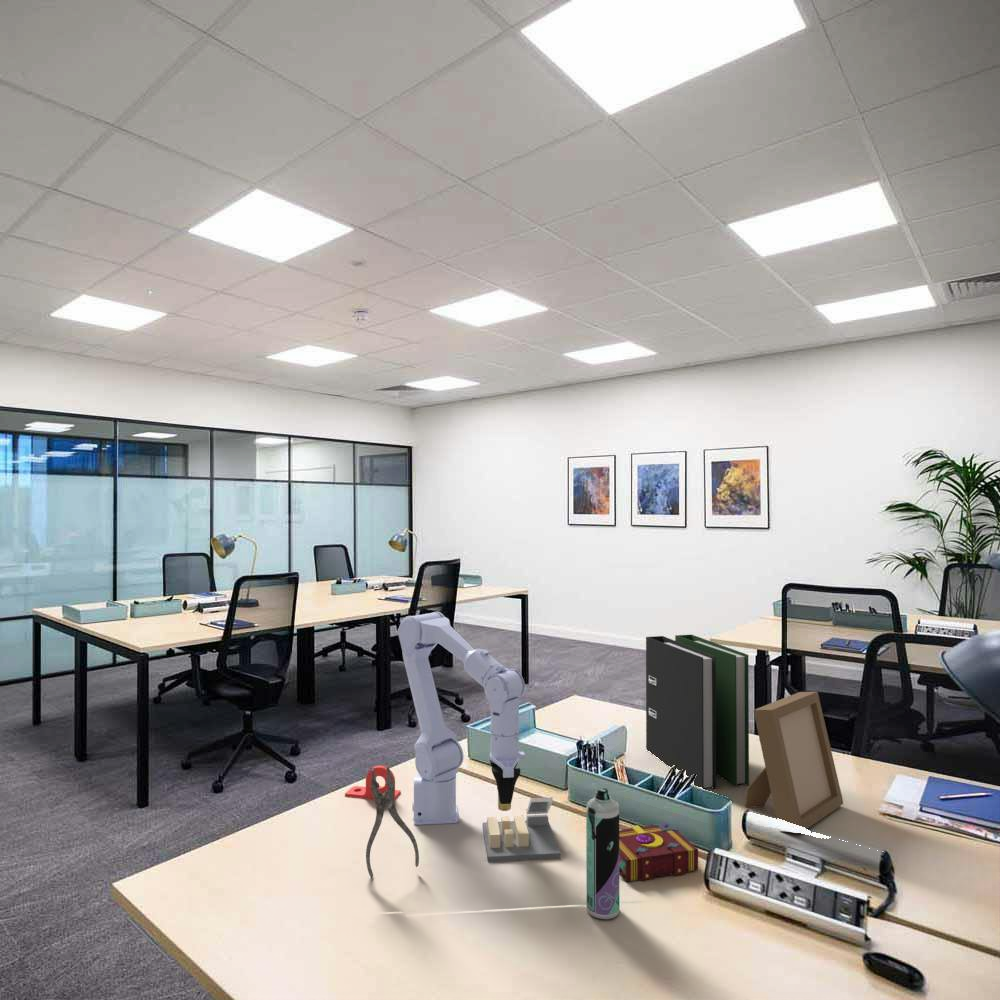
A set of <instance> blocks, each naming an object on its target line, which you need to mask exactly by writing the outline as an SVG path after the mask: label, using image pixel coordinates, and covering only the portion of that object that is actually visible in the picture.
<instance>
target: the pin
mask: <svg viewBox="0 0 1000 1000" xmlns="http://www.w3.org/2000/svg"><path fill="white" fill-rule="evenodd" d="M497 808H498V810H499V811H501V812H507V811H510V810H511V809H512V803H511V804H501V803H500V799H499V793H498V792H497Z"/></svg>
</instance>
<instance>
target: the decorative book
mask: <svg viewBox="0 0 1000 1000" xmlns="http://www.w3.org/2000/svg"><path fill="white" fill-rule="evenodd" d="M698 870H699V848H697V846H695V845H694V844H693V843H692V842H690V840H688V839H687V838H686V837H685V836H683V834H681V833H680V832H679V830H678V829H677V828H676V827H675V826H674V825H673V824H672V823H671V822H669V821H664V822H658V823H652V824H650V825H646V826H640V825H631V826H630V828H625V829H619V876H621V877H622V878H623V879H624V881H625V882H626V883H628V882H633V881H639V880H641V882H648V881H653V878H656V877H657V878H658V877H663V876H670V875H673V876H674V877H678V876H679V877H680V876H684V875H685V874H686V873H688V872H693V871H698Z"/></svg>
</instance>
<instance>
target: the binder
mask: <svg viewBox="0 0 1000 1000" xmlns="http://www.w3.org/2000/svg"><path fill="white" fill-rule="evenodd" d="M674 637H675V638H674V639H675V640H674V639H671V638H669V637H666V636H663V635H657V636H656V635H655V636H645V689H646V690H645V716H646V717H645V718H646V719H645V730H646V732H645V734H646V735H645V736H646V737H645V740H646V741H645V747H646V749H647V750H648V751H650V752H651V753H652V754H654V755H655V756H656V757H658V758H659V759H660V760H661V761H663V762H664V763H665V764H666V765H665V764H664V763H663V762H662V763H663V764H664V765H665V766H667V765H668V766H670V767H672V766H673V765H677V769H678V770H682V769H685V770H686V775H687V776H691V775H693V774H697V776H696V778H695V780H694V785H695V786H698V787H702V788H705V789H706V788H712V787H713V788H712V789H713V790H714V791H716V790H717V776H718V777H719V778H721V779H722V778H723V779H722V780H723V781H725V780H726V781H725V782H727V784H729V785H731V784H732V785H731V786H733V787H734V786H735V787H734V788H736V787H738V786H737V785H738V784H739V785H740V784H745V786H747V787H748V786H749V785H750V742H749V741H750V733H749V731H750V727H749V726H750V724H749V723H750V722H749V721H750V720H749V719H750V716H749V711H750V709H749V705H750V704H749V699H750V698H749V697H750V696H749V691H750V690H749V689H750V688H749V684H750V683H749V675H750V674H749V654H748V653H745V652H741V651H739V650H736V649H735V648H734V649H733V648H731V647H728V646H725V645H722V644H719V643H717V642H713V641H711V640H709V639H705V638H702V637H700V636H696V635H694V634H678V635H675V636H674ZM648 751H647V752H648ZM652 754H651V755H652ZM656 757H655V758H656ZM659 759H658V760H659ZM660 760H659V761H660ZM661 761H660V762H661ZM668 766H667V767H668ZM694 785H693V786H694ZM695 786H694V787H695ZM715 789H716V790H715Z"/></svg>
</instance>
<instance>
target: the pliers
mask: <svg viewBox="0 0 1000 1000" xmlns="http://www.w3.org/2000/svg"><path fill="white" fill-rule="evenodd" d="M386 767H387V778H388V779H387V781H386V786H388V787H389V788H388V790H386V791H385V793H382V792H379V791H378V790H377V789H378V788H379V786H380V784H379V782H378V781H377V777H376V775H375V772H374V769H372V768H371V769H372V778H371V791H372V794H373V798H374V799H373V800H374V803H375V808H376V809H375V811H376V815H375V821H374V824H373V827H372V829H371V833H370V835H369V839H368V840H367V844H366V850H365V863H366V864H365V865H366V869H367V872H368V875H369V877H370V878H371V879H372V878H374V873H373V869H372V866H371V850H372V846H373V843H374V842H375V841H374V840H375V838H376V836H377V834H378V832H379V829H380V828H381V825H382V821H383V818H384V813H385V811H388V813H389V814H390V817H392V819H393V820H394V822H395V823H396V824H397V825H398V826H399V827H400V829H402V830H403V832H404V833H405V834H406V835H407V837H409V839H410V841H411V843H412V845H413V850H414V856H415V858H414V860H415V862H414V863H415V865H414V866H415V867H416V868H417V867H419V863H420V856H419V855H420V853H419V852H420V851H419V847H418V843H417V840H416V838H415V836H414V834H413V832H412V831H411V829H410V828H409V827H408V826H407V824H406V823H405V821H404V820H403V819H402V817H401V816H400V814H399V813H398V811H397V807H396V803H395V800H394V789H395V790H396V781H395V782H394V780H393V777H392V774H391V772H390V770H391V769H390V766H389V765H387V766H386Z"/></svg>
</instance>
